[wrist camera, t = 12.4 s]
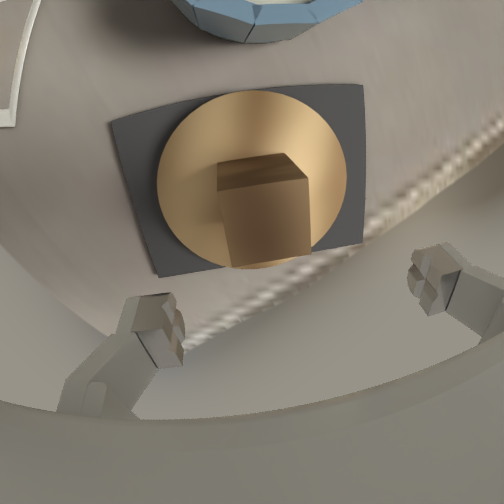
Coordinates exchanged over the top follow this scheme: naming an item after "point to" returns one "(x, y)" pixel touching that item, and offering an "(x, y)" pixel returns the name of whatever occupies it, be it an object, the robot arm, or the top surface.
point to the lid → (251, 179)
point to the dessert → (18, 69)
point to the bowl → (260, 17)
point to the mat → (169, 117)
